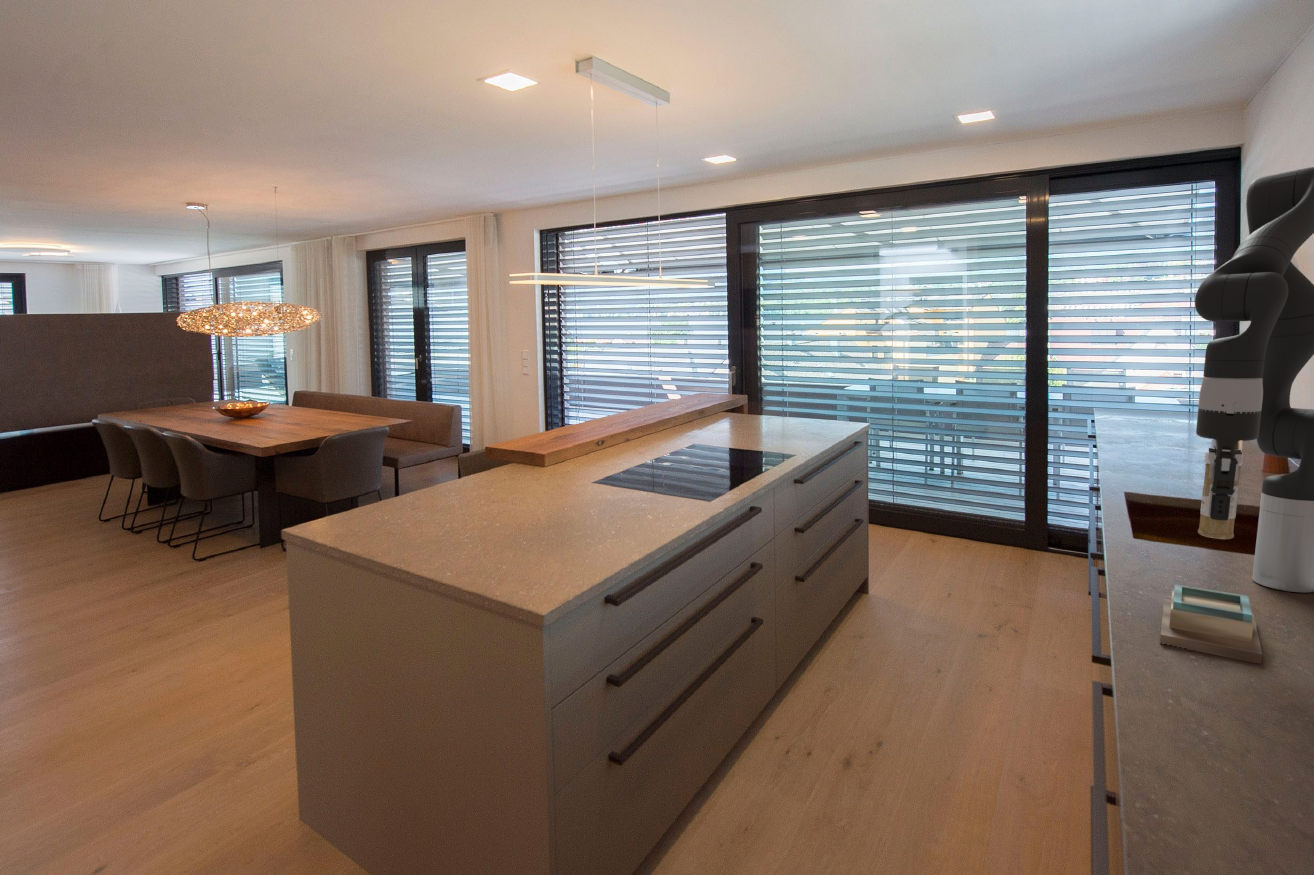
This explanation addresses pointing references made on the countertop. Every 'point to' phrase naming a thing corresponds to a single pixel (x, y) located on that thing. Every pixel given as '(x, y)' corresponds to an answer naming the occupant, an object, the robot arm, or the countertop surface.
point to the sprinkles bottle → (1207, 524)
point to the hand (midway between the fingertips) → (1218, 515)
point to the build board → (1210, 641)
